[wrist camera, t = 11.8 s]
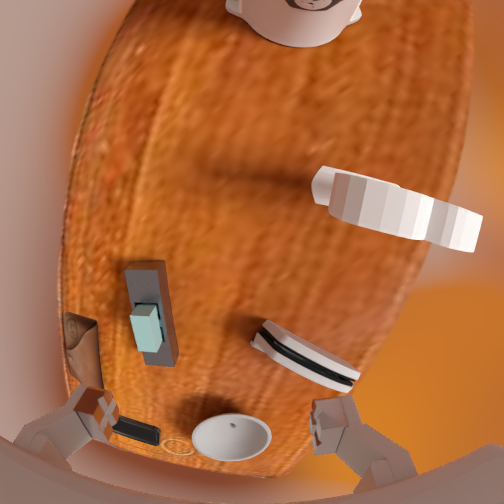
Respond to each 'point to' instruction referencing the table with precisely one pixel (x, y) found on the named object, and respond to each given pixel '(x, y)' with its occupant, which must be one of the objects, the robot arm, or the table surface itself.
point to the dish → (231, 437)
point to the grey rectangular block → (154, 291)
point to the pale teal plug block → (147, 327)
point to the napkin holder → (305, 357)
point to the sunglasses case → (83, 349)
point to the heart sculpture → (395, 209)
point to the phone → (137, 430)
